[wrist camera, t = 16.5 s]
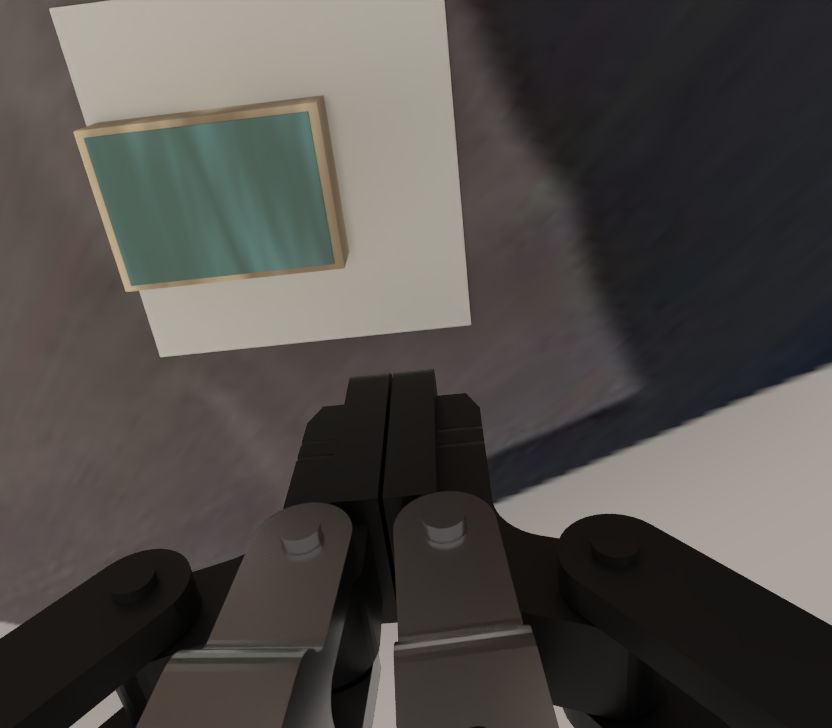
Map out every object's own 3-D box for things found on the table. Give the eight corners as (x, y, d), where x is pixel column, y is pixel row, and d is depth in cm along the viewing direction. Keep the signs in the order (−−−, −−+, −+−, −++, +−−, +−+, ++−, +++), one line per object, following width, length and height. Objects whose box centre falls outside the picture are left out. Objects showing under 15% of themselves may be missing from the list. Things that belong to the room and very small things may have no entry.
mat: (440, -42, 27) (440, -43, 27) (470, 321, 35) (471, 324, 34) (53, 8, 28) (48, 8, 28) (162, 353, 36) (160, 357, 35)
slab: (316, 102, 27) (71, 131, 28) (344, 269, 30) (124, 293, 31) (323, 95, 29) (97, 122, 30) (348, 251, 33) (144, 273, 33)
